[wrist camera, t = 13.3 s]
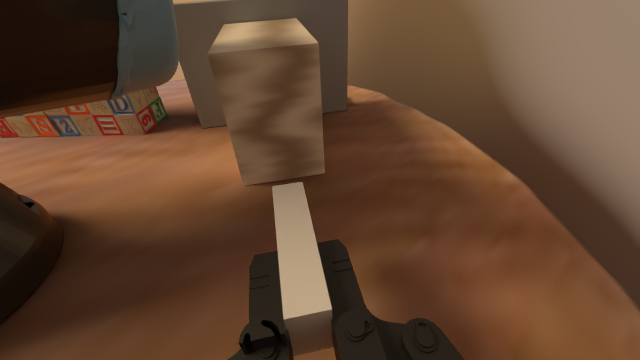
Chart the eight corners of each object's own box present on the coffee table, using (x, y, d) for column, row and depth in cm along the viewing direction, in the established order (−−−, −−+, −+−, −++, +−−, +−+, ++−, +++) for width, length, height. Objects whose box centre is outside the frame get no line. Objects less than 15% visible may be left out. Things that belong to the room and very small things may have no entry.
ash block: (243, 186, 27) (207, 53, 20) (246, 123, 38) (224, 24, 31) (324, 174, 28) (318, 43, 21) (304, 116, 39) (296, 17, 32)
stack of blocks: (-3, 139, 38) (-87, 40, 31) (36, 119, 43) (-28, 30, 36) (146, 135, 37) (97, 31, 29) (169, 115, 42) (131, 22, 34)
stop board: (202, 128, 37) (160, 5, 29) (207, 113, 41) (171, 1, 33) (347, 110, 40) (348, -9, 31) (338, 97, 44) (337, -11, 35)
